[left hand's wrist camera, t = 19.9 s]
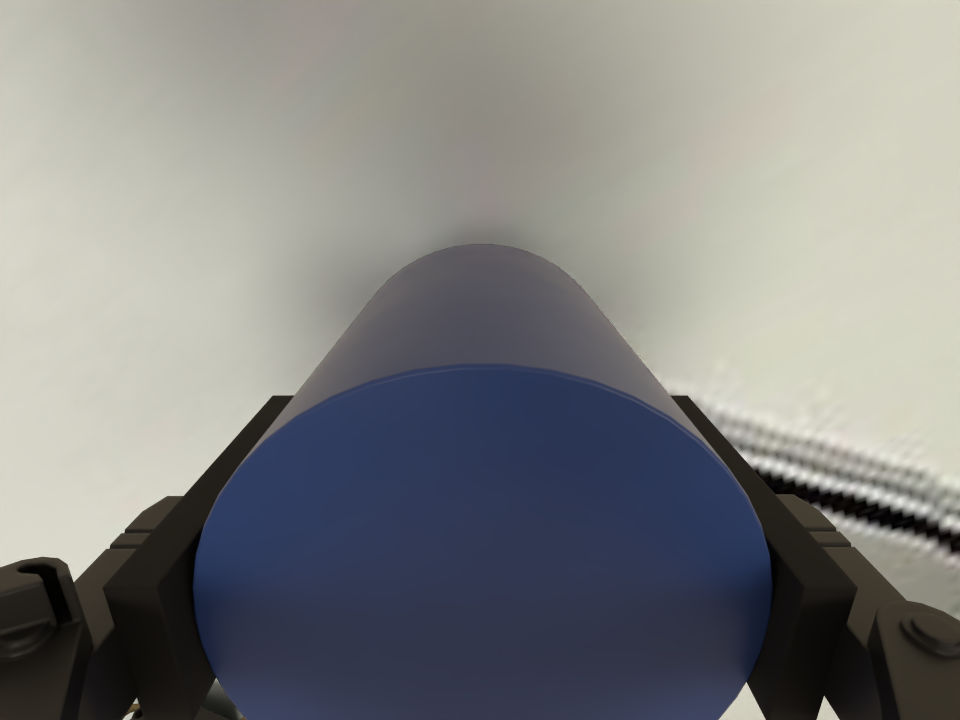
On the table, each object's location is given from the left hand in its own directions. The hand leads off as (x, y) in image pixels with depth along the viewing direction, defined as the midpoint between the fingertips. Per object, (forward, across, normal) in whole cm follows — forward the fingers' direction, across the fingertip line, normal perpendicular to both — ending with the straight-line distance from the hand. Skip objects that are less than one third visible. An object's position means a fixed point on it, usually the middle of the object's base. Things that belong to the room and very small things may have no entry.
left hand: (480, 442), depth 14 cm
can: (+5, 0, 0) cm, 5 cm away
